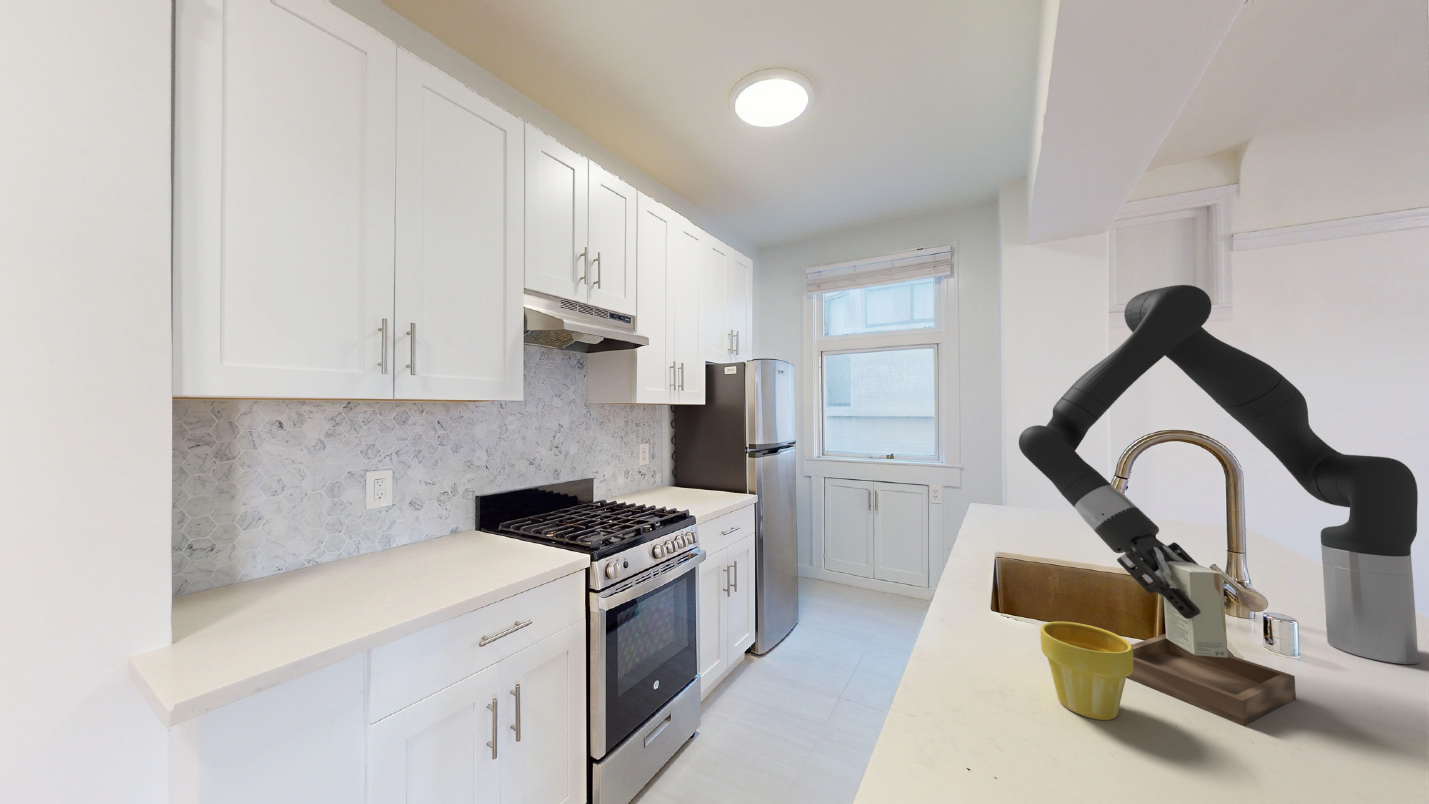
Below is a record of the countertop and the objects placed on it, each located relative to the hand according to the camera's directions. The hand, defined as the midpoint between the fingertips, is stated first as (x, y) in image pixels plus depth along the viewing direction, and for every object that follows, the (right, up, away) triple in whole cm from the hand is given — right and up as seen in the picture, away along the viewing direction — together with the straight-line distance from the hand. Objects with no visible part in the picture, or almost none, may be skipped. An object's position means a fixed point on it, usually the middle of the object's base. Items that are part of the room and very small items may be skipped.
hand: (1207, 612), depth 72 cm
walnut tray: (0, -11, +1) cm, 11 cm away
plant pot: (-21, -12, -4) cm, 24 cm away
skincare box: (-1, -6, +1) cm, 6 cm away
